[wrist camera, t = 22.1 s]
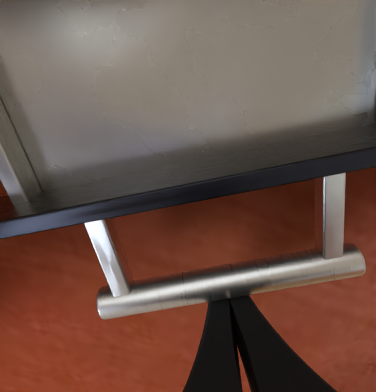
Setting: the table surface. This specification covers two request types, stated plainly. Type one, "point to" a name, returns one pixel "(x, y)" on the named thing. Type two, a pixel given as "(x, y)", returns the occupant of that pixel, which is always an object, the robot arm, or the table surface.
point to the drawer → (184, 126)
